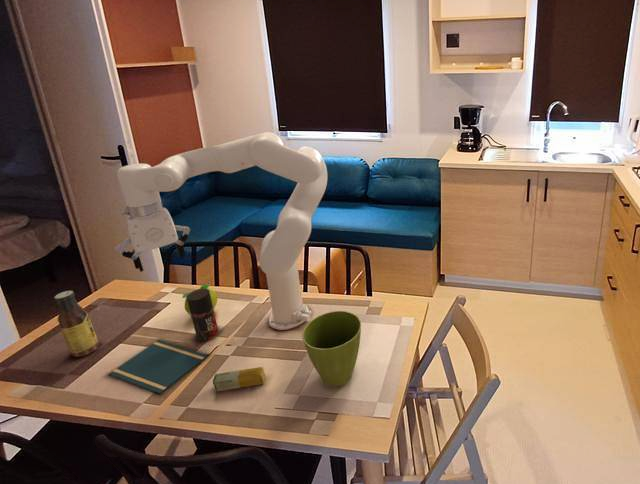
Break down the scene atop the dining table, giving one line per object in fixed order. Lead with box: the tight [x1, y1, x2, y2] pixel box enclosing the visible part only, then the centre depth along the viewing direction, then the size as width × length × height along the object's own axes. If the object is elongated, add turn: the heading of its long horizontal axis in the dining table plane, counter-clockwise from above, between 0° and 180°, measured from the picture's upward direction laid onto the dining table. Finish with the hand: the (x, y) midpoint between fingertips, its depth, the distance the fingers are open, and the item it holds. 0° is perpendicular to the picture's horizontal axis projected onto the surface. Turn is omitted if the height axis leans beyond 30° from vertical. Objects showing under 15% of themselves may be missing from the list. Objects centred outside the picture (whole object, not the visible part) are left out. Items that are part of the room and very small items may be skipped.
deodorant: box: [187, 288, 219, 342], centre depth 121 cm, size 6×6×15 cm
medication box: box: [212, 366, 266, 393], centre depth 104 cm, size 12×3×4 cm, turn 101°
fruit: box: [181, 283, 218, 316], centre depth 131 cm, size 9×9×10 cm
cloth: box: [108, 339, 208, 395], centre depth 111 cm, size 20×14×1 cm
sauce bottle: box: [53, 290, 99, 358], centre depth 113 cm, size 6×6×20 cm
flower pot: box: [301, 310, 362, 388], centre depth 105 cm, size 15×15×16 cm
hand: (161, 263), depth 112 cm, fingers open, 9 cm apart
